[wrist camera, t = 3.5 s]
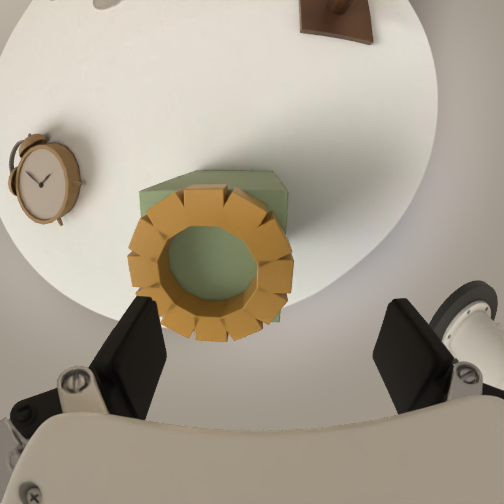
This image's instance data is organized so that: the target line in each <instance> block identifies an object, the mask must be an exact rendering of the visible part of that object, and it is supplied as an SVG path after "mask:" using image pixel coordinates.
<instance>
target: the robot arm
mask: <svg viewBox="0 0 504 504" xmlns="http://www.w3.org/2000/svg"><path fill="white" fill-rule="evenodd" d="M166 354H167V353H166V348H165V343H164V338H163V334H162V329H161V324H160V318H159V313H158V307H157V303H156V301H153V300H152V298H151V297H148V296H137V297H136V298H135V299H134V300H133V302H132V303H131V305H130V306H129V308H128V309H127V310H126V312H125V313H124V315H123V316H122V318H121V319H120V321H119V322H118V324H117V325H116V327H115V328H114V329H113V330H112V332H111V333H110V335H109V336H108V338H107V340H106V341H105V343H104V344H103V345H102V347H101V349H100V350H99V352H98V353H97V355H96V357H95V358H94V360H93V361H92V363H91V364H90V366H89V368H87V367H84V366H74V367H70V368H68V369H66V370H65V371H63V372H62V373H61V374H60V376H59V378H58V380H57V388H55V389H53V390H50V391H47V392H44V393H42V394H39V395H36V396H33V397H30V398H27V399H24V400H21V401H19V402H17V403H16V404H15V405H14V407H13V408H12V410H11V413H10V419H9V420H8V419H7V418H6V417H5V418H4V419H2V420H1V421H0V504H504V331H503V330H502V329H501V324H500V323H497V324H496V323H495V322H494V321H493V320H492V319H491V309H490V307H489V305H488V304H487V303H486V302H484V301H481V300H479V301H475V302H472V303H470V304H469V305H467V306H466V307H464V308H463V309H462V310H461V311H460V312H459V313H458V314H457V315H456V316H455V317H454V318H453V320H452V321H451V323H450V324H449V326H448V327H447V329H446V331H445V333H444V335H443V338H442V341H441V340H440V338H439V337H438V336H437V334H436V333H435V332H434V331H433V329H432V328H431V327H430V326H429V325H428V323H427V322H426V321H425V320H424V318H423V317H422V316H421V315H420V314H419V312H418V311H417V310H416V309H415V308H414V306H413V305H412V304H411V303H410V302H409V301H408V300H407V299H406V298H400V299H393V300H392V302H390V303H389V304H388V307H387V310H386V314H385V317H384V320H383V324H382V327H381V330H380V333H379V336H378V339H377V342H376V345H375V348H374V351H373V360H374V362H375V364H376V366H377V368H378V370H379V373H380V375H381V377H382V379H383V381H384V383H385V386H386V388H387V390H388V392H389V394H390V397H391V399H392V401H393V403H394V405H395V408H396V410H397V413H398V415H394V416H390V417H386V418H380V419H375V420H371V421H365V422H359V423H352V424H345V425H338V426H330V427H321V428H310V429H295V430H268V431H250V430H221V429H208V428H197V427H188V426H180V425H172V424H164V423H158V422H151V421H146V420H145V419H146V416H147V413H148V410H149V407H150V404H151V401H152V398H153V395H154V392H155V389H156V387H157V384H158V381H159V378H160V375H161V373H162V370H163V367H164V364H165V361H166V357H167V355H166ZM456 358H457V359H458V361H459V362H458V363H456V364H455V365H453V364H452V362H453V360H454V359H456Z"/></svg>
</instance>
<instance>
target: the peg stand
mask: <svg viewBox="0 0 504 504" xmlns="http://www.w3.org/2000/svg"><path fill="white" fill-rule="evenodd" d="M299 12H300V33H307V34H315V35H322V36H329V37H335V38H340V39H346V40H351V41H355V42H360V43H364V44H368V45H370V44H372V43H373V35H372V26H371V18H370V11H369V5H368V0H299Z"/></svg>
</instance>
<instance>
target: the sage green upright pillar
mask: <svg viewBox="0 0 504 504" xmlns="http://www.w3.org/2000/svg"><path fill="white" fill-rule="evenodd" d="M193 184H227V185H228V198H229V196H230V195H231V193H232V191H233V190H234V188H235V187H238V188H239V189H241V190H243V191H245V192H246V193H248V194H250V195H251V196H253V197H255V198H256V199H258V200H260V201H261V202H263V203H265V204H266V205H267V211H268V213H269V212H271V211H273V212H274V214H275V216H276V218H277V220H278V221H279V223H280V225H281V227H282V229H283V231H284V233H285V235H286V224H287V205H288V190H287V189H286V188H285V186H284V185H283V184H282V182H281V181H280V180H279V179H278V177H277V176H276V175H275V174H274V172H273V171H241V170H215V171H193V172H190V173H188V174H185V175H182V176H179V177H176V178H173V179H170V180H168V181H165V182H162V183H159V184H157V185H154V186H152V187H149V188H146V189H144V190H141V191H139V196H140V210H141V217H143V216H145V215H146V211H147V210H148V209H150V208H151V207H152V206H154V205H155V204H157V203H158V202H160V201H161V200H163V199H164V198H166V197H168V196H169V195H171V194H172V193H174V192H175V191H177V190H179V189H181V188H183V187H185V188H187V187H189V186H191V185H193ZM168 257H169V267H170V272H171V273H172V274H173V276H174V277H175V279H176V280H177V282H178V283H179V284H180V286H181V287H182V289H184V290H185V291H187V292H189V293H191V294H193V295H195V296H196V297H198V298H200V299H202V300H212V301H226V300H228V299H230V298H232V297H234V296H237V295H239V294H241V293H243V292H245V290H246V289H247V287H248V286H249V284H250V283H251V281H252V280H253V278H254V277H255V276H256V272H257V263H256V261H255V260H254V258H253V256H252V255H251V253H250V251H249V250H248V248H247V246H246V244H245V243H244V241H243V240H241V239H240V238H238V237H236V236H234V235H233V234H231V233H229V232H227V231H226V230H224V229H222V228H220V227H217V226H190V227H188V228H187V229H185V230H183V231H182V232H180V233H178V234H177V235H175V236H174V238H173V240H172V242H171V244H170V246H169V248H168ZM164 315H165V314H164ZM164 315H162V316H160V317H164ZM271 322H280V311H279V313H278V314H277V315H276V316H275V318H274V319H273V320H272V321H271Z"/></svg>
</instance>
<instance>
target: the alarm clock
mask: <svg viewBox="0 0 504 504" xmlns="http://www.w3.org/2000/svg"><path fill="white" fill-rule="evenodd" d="M21 143H22V144H21ZM45 143H46V139H45V137H44V136H43V135H41V134H33V135H31V134H28V137H27V138H26V139H25V140H21V141H19V142H17V143H16V144H15V146H14V147H13V149H12V152H11V155H10V160H9V169H10V176H9V181H8V185H9V189H10V191H11V193H12V194H13V195H16V196H17V197H18V201H19V203H20V205H21V208H22V210H23V211H24V212H25V214H26V215H27V216H28V217H29V218H30V219H32V220H33V221H34V222H36V223H40V224H48V223H52V222H54V221H55V220H56V219H57V221H58V223H59V224H60V226H62V225H63V223H62V220H61V218H60V217H62V216H64V215H65V214H66V213H68V212H69V211H70V210H71V209H72V207H73V206H74V204H75V203H76V200H77V197H78V194H79V188H80V185H81V184H82V182H80V175H79V169H78V165H77V163H76V160H75V158H74V156H73V155H72V153H71V152H70V151H69V150H68V149H67V148H66V147H64V146H63V145H61V144H59V143H49V144H45ZM20 144H21V146H20V148H19V155H20V157H22V159H21V161H20V163H19V165H18V166H17V167H16V168H14V156H15V153H16V150H17V148H18V147H19V145H20Z"/></svg>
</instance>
